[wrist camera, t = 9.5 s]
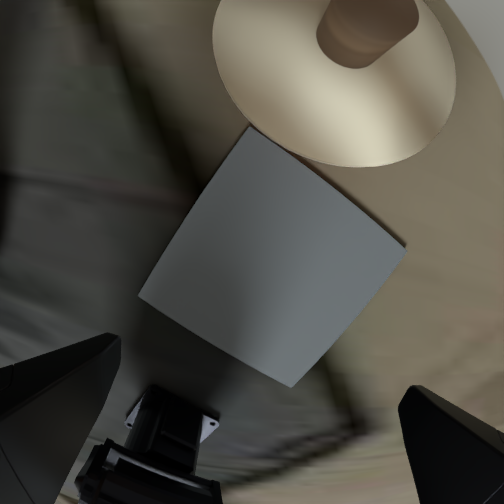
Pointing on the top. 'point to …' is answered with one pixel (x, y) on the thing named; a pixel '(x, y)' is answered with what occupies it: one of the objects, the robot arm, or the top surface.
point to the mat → (271, 262)
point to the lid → (338, 75)
